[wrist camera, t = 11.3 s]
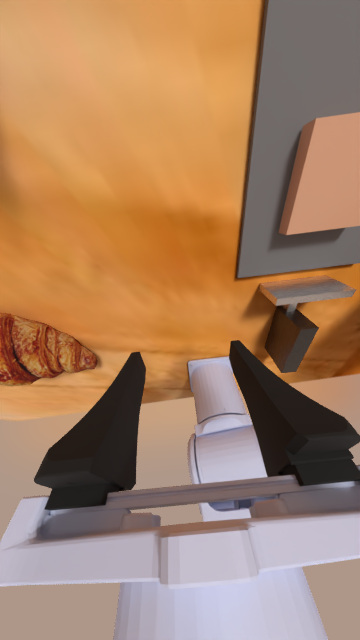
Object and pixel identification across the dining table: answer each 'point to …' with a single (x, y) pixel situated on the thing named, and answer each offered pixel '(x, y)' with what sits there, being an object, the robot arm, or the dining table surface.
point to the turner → (296, 316)
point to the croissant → (37, 352)
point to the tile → (325, 177)
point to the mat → (297, 128)
